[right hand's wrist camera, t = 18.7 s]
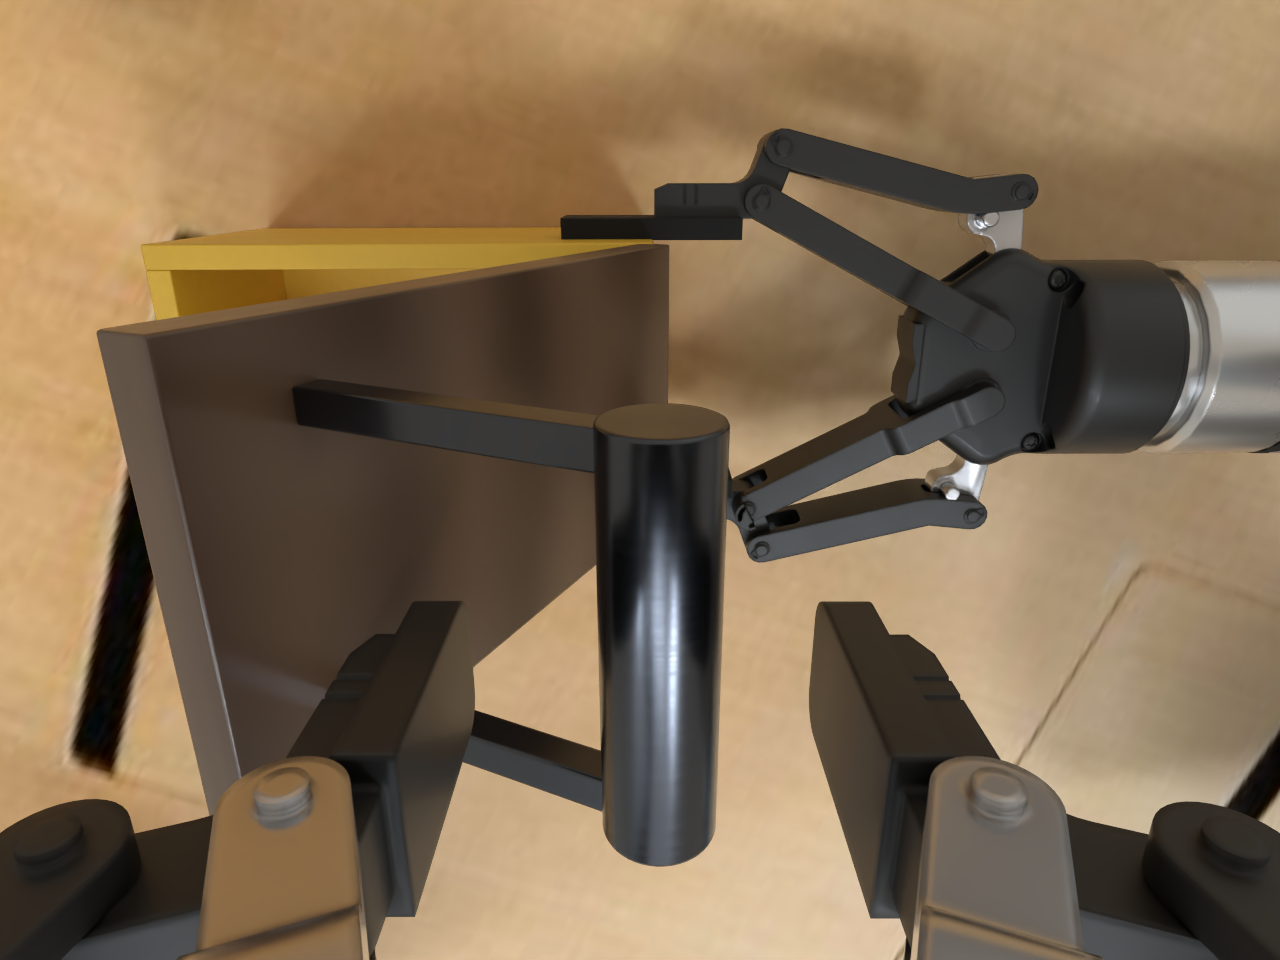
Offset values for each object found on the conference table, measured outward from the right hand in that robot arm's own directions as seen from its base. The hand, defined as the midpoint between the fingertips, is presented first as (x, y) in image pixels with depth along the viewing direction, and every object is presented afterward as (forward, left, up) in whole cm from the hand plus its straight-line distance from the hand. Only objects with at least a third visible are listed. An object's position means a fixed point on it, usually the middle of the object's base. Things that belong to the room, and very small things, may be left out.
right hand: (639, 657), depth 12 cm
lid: (-4, 0, -10) cm, 10 cm away
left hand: (-3, 0, -21) cm, 22 cm away
